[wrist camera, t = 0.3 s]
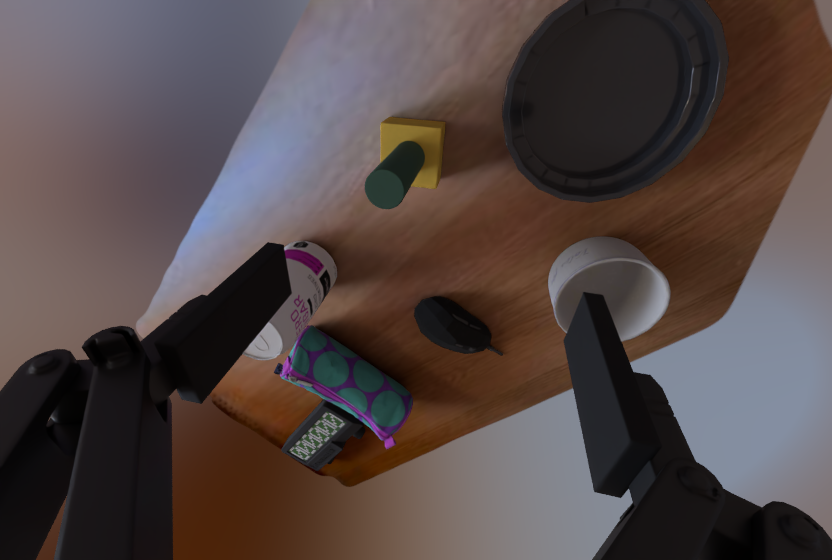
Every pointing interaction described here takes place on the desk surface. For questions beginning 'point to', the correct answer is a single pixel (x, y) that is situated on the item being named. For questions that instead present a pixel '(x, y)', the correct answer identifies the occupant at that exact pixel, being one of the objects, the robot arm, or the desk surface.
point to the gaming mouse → (452, 326)
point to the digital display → (322, 435)
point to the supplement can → (296, 299)
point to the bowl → (613, 94)
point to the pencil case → (347, 382)
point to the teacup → (609, 284)
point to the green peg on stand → (406, 160)
